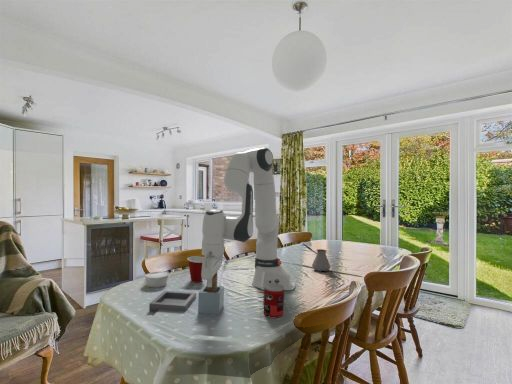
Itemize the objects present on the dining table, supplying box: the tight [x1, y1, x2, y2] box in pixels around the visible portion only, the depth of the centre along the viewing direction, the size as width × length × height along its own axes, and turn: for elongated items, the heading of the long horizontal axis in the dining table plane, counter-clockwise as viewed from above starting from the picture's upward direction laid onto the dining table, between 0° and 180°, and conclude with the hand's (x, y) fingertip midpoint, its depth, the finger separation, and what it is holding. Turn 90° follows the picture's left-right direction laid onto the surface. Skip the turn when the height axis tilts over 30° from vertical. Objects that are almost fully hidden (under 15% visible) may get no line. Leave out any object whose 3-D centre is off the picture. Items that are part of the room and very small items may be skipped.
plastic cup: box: [187, 255, 205, 283], centre depth 152 cm, size 11×11×12 cm
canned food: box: [263, 284, 285, 318], centre depth 113 cm, size 8×8×11 cm
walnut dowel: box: [207, 273, 218, 292], centre depth 113 cm, size 4×4×14 cm
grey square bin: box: [197, 284, 225, 315], centre depth 113 cm, size 8×8×9 cm
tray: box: [148, 290, 197, 312], centre depth 119 cm, size 15×15×3 cm
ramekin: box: [144, 271, 169, 288], centre depth 143 cm, size 11×11×5 cm
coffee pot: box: [301, 243, 331, 272], centre depth 183 cm, size 21×12×15 cm, turn 43°
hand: (211, 284), depth 113 cm, fingers open, 5 cm apart
